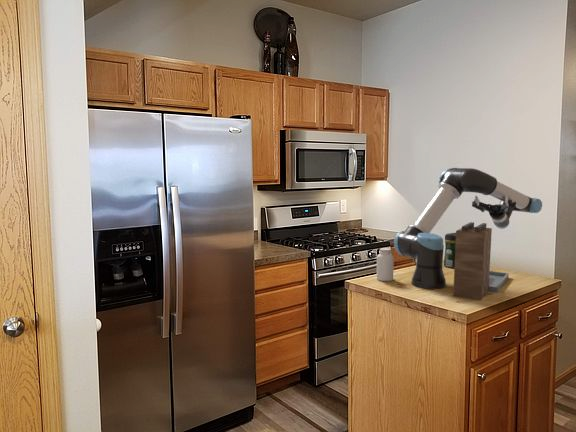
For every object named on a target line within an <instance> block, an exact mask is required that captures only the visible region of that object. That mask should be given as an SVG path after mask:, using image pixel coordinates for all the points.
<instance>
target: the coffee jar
mask: <svg viewBox="0 0 576 432" xmlns="http://www.w3.org/2000/svg"><path fill="white" fill-rule="evenodd" d="M444 245H445V248H444V256H443V266H444V267H446V268H448V269H449V268H451V269H454V268H455V246H456V232H450V233H446V234H445V235H444Z"/></svg>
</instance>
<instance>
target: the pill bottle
mask: <svg viewBox="0 0 576 432" xmlns="http://www.w3.org/2000/svg"><path fill="white" fill-rule="evenodd" d="M391 253H392V249H391V248H387V247H382V248H379V254H377V256H376V280H378V281H379V282H380V281H382V282H391V281H393V280H394V267H395V266H394V264H395V263H394V261H395V260H394V255H393V254H391Z"/></svg>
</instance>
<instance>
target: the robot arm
mask: <svg viewBox="0 0 576 432" xmlns="http://www.w3.org/2000/svg"><path fill="white" fill-rule="evenodd" d="M438 179H439V180H438V191H436V193H435V195H434V196H433V197H432V199H431V200H430V201H429V203H428V204H427V206H426V207H425V208H424V210H423V211H422V212H421V214H420V215H419V216H418V218H417V219H416V220H415V222H414V223H413V224H411V225H408V226H407V228H406V229H405V230H402V231H399V232H398V233H396V235H395V237H394V239H393V244H394V245H393V248H394V250H395V251H396V253H397V254H398V255H401V256H403V257H405V258H407V257H408V258H410V259H411V258H412V259H414V260H415V264H416V265H415V269H414V272H413V274H412V277H411V285H413V286H415V287H417V288H421V289H429V290H430V289H431V290H433V289H435V290H439V289H444V288H446V286H447V284H446V283H447V281H446V278H445V273H444V270H443V266H444V250H445V248H444V245H445V244H444V238H443V237H442V236H441V235H439V234H435V233H431V232H432V230H433V229H434V228H435V226H436V225H437V224H438V222H439V220H441V218H442V216H444V214H445V213H446V211H447V209H449V207H450V206H451V204H452V203H453V201H454V200H456V199H459V198H460V197H461V195H462V194H463V193H475V194H476V193H477V194H481V195H484V196H491V197H493V198H495V199H497V200H500V202H499V204H491V203H485V202H481V201H480V199H479V197H478V195H475V197H474V200H473V201H471V207H473V208H475V209H477V210H479V211H481V213H485V211H486V212H488V214H489V216H490V218H491V220H492V222H493V224H494V225H495V227H496V228H498V229H506V228H508V226H509V225H510V218H511V216H512V214H513V212H523V213H529V214H538V213H540V212H541V211H542V208H543V201H542V200H541V199H540V198H538V197H537V198H536V197H530V196H528V195H526V194H524V193H522V192H520V191H518V190H516V189H513V188H512V187H510V186H508V185H506V184H504V183H502V182H500V181H498V179H497V177H495V176H492V175H490V174H489V173H487V172H484V171H483V170H482V171H481V170H479V169H477V168H473V167H472V168H470V167H469V168H467V167H463V168H459V167H451V168H447V169H445V170H443V171H442V173H441V174H440V175H439V178H438Z"/></svg>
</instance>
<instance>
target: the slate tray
mask: <svg viewBox="0 0 576 432" xmlns="http://www.w3.org/2000/svg"><path fill="white" fill-rule="evenodd" d="M508 279H509V273H508V272H501V271H492V270H490V271H489V290H488V292H492V293H499V292H500V290H501V288H502V287H503V285H504V284H505V283H506V281H507V280H508Z"/></svg>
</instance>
